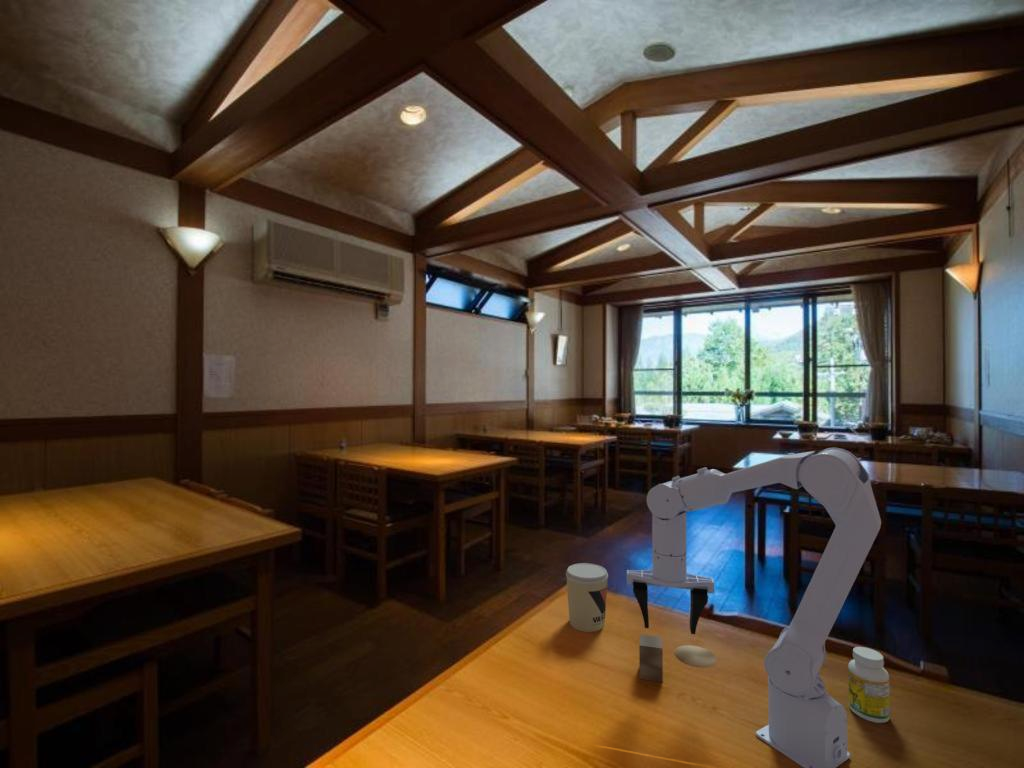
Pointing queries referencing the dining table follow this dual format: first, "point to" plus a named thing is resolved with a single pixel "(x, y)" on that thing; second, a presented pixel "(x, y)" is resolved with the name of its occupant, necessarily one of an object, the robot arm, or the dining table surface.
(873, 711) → the supplement bottle
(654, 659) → the walnut block
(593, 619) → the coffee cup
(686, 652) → the cork coaster
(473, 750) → the dining table surface
